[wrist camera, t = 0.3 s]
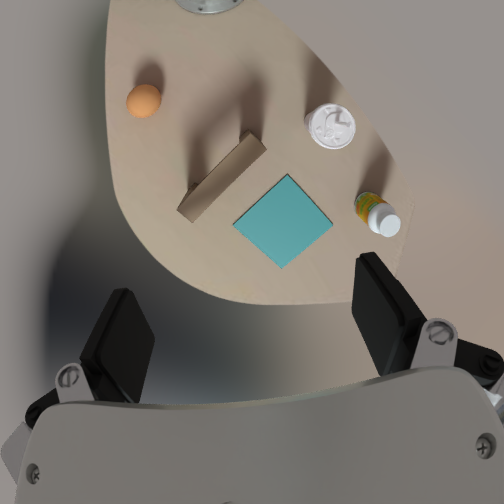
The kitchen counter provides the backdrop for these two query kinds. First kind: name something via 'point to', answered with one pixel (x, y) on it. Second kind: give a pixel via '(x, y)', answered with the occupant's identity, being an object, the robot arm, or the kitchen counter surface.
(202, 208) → the bridge
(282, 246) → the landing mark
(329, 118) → the smoothie
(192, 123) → the kitchen counter surface
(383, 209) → the supplement bottle
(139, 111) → the ball
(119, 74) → the kitchen counter surface
